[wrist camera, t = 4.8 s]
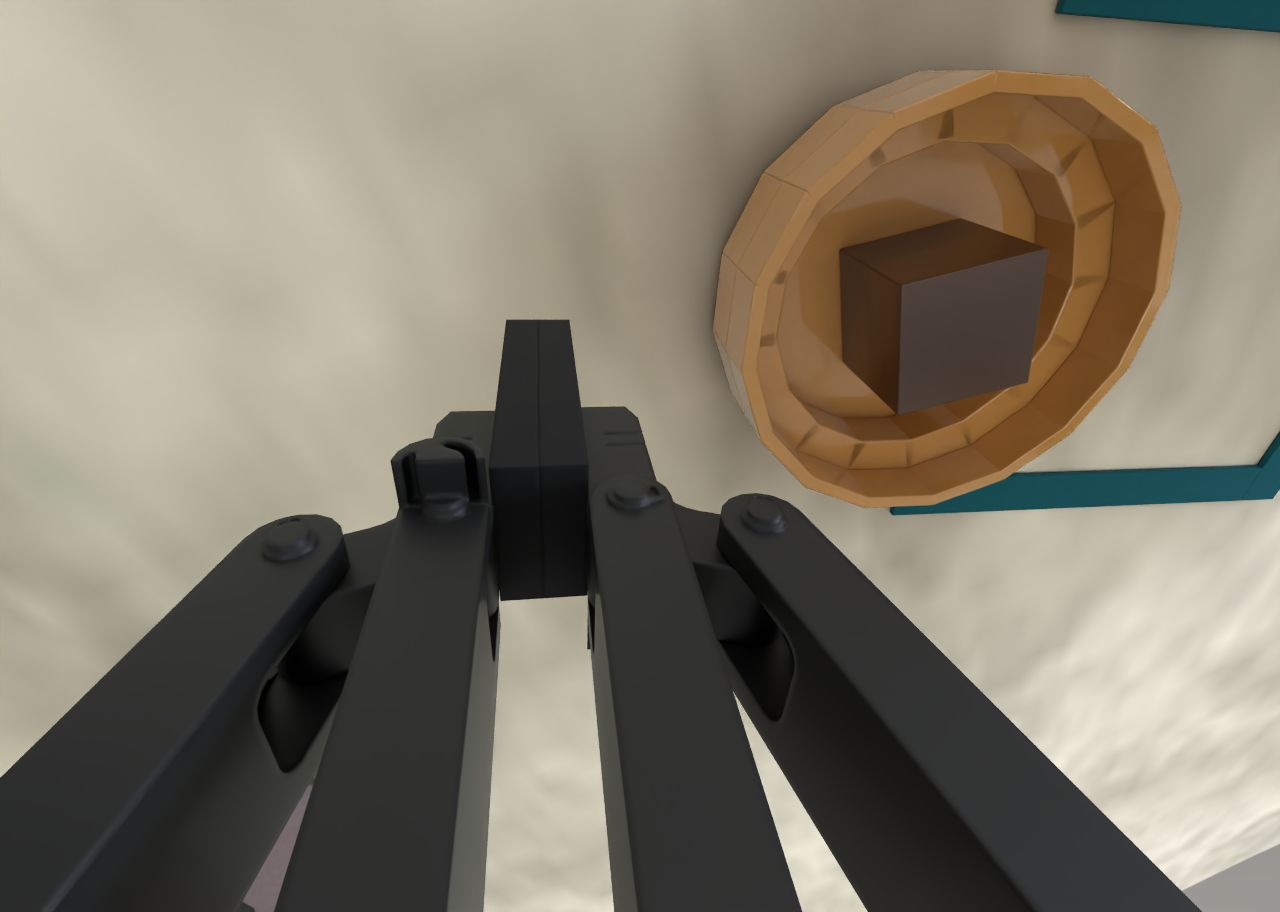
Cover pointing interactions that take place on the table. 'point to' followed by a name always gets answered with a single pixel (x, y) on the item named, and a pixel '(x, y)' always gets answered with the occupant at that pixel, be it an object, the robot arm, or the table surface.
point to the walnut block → (940, 313)
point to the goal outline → (1217, 3)
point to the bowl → (928, 195)
